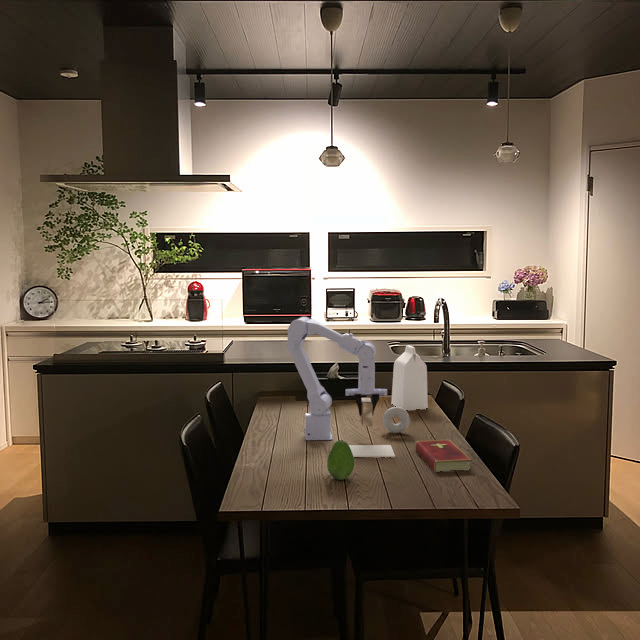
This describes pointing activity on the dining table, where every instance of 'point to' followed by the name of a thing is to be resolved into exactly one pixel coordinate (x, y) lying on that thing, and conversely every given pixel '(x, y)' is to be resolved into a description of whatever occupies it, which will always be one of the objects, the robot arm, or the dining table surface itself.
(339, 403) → the dining table surface
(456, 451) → the hardcover book
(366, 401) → the tan wooden block
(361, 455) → the mat
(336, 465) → the fruit
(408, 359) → the milk
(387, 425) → the donut
